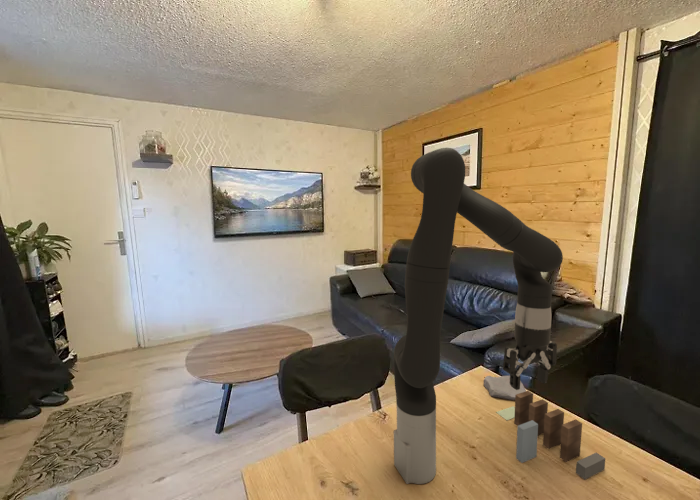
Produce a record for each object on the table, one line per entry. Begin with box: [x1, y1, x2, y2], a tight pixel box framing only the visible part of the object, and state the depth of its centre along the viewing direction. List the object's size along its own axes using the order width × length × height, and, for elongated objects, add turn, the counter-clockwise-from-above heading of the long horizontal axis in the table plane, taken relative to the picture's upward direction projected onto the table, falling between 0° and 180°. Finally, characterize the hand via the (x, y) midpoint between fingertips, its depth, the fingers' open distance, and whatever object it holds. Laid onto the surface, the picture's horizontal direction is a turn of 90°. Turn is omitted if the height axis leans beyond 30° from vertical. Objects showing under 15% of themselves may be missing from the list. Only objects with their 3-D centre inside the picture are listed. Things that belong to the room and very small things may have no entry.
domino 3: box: [529, 398, 549, 436], centre depth 86 cm, size 5×2×9 cm, turn 111°
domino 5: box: [559, 418, 583, 463], centre depth 78 cm, size 5×2×9 cm, turn 111°
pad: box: [495, 405, 515, 421], centre depth 95 cm, size 7×4×1 cm, turn 111°
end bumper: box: [575, 452, 606, 480], centre depth 74 cm, size 7×2×3 cm, turn 111°
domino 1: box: [513, 390, 534, 427], centre depth 90 cm, size 5×2×9 cm, turn 111°
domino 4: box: [542, 408, 565, 450], centre depth 82 cm, size 5×2×9 cm, turn 111°
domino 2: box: [515, 420, 539, 464], centre depth 78 cm, size 5×2×9 cm, turn 111°
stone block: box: [483, 375, 527, 401], centre depth 106 cm, size 12×5×10 cm
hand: (528, 384), depth 78 cm, fingers open, 8 cm apart
